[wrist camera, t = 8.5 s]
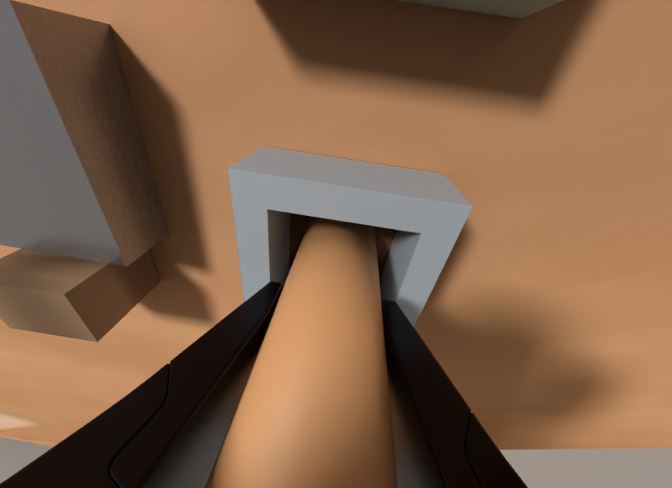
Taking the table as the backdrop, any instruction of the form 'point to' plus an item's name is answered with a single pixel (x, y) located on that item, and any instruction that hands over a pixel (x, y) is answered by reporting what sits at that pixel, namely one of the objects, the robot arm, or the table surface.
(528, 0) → the tray
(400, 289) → the socket block
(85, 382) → the table surface
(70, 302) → the block
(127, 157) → the grey slab
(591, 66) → the table surface
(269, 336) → the dowel
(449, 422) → the robot arm
